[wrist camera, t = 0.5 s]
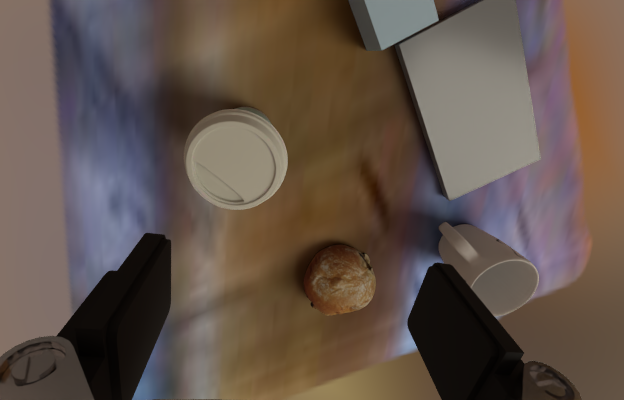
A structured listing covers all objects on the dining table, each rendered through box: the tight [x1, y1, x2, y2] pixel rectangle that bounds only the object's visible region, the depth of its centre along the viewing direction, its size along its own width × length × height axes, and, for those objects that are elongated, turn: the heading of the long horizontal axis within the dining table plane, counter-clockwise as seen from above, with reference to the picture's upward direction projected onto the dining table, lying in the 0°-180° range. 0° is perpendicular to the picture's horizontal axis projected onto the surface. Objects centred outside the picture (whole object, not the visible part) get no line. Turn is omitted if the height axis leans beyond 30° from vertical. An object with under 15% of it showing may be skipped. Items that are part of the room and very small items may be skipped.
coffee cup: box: [184, 107, 288, 210], centre depth 31 cm, size 9×8×12 cm
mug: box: [439, 222, 539, 316], centre depth 40 cm, size 11×8×10 cm
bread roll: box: [304, 245, 376, 316], centre depth 44 cm, size 10×10×8 cm
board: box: [394, 0, 541, 201], centre depth 36 cm, size 20×12×2 cm, turn 26°
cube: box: [348, 0, 439, 51], centre depth 30 cm, size 6×6×6 cm
